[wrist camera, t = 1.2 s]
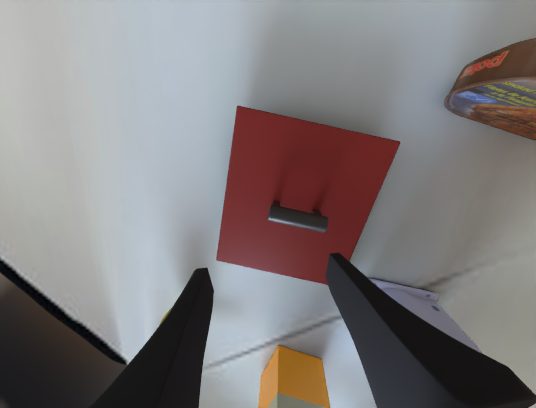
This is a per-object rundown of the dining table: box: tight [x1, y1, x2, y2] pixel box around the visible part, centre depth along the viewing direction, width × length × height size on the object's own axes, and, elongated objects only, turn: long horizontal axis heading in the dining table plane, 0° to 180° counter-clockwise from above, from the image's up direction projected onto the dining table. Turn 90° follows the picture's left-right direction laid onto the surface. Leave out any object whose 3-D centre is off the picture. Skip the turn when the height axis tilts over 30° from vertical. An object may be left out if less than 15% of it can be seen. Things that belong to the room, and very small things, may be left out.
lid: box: [216, 106, 400, 285], centre depth 17 cm, size 15×14×4 cm
